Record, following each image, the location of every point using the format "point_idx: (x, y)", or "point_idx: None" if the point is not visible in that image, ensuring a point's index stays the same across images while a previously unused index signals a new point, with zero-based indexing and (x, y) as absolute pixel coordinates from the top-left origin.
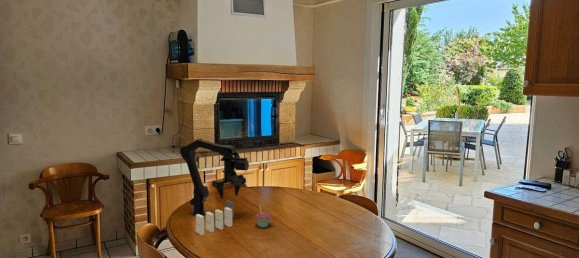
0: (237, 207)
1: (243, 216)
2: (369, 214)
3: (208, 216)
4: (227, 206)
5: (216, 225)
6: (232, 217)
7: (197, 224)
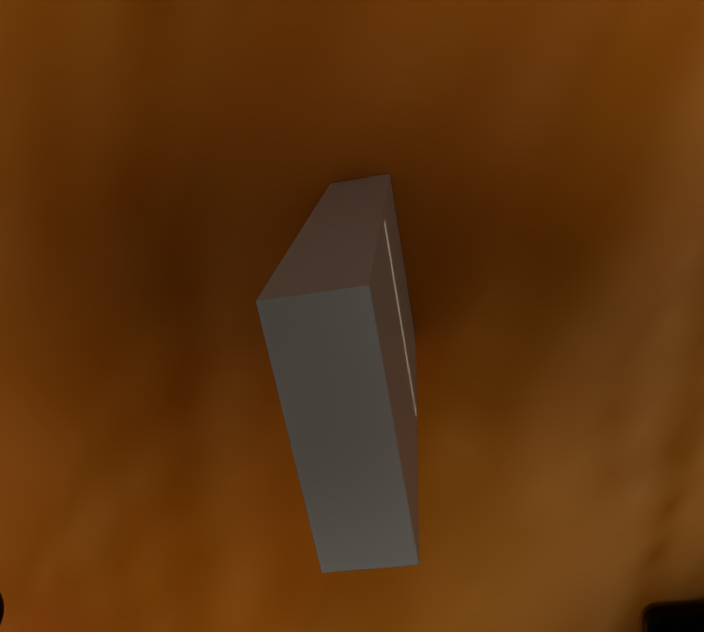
0: (68, 610)
1: (110, 167)
2: None
3: None
4: (405, 392)
5: None
6: (348, 183)
7: None
